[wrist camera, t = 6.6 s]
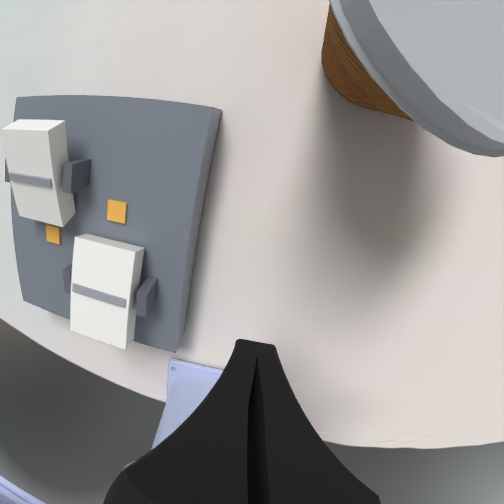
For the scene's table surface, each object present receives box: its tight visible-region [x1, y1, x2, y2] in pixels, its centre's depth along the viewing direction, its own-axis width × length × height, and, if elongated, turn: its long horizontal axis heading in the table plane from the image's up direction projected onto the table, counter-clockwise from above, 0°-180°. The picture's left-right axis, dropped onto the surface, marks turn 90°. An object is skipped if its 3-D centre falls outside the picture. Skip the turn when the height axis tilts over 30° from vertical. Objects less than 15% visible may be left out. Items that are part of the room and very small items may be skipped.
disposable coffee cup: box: [322, 0, 504, 157], centre depth 9 cm, size 10×10×12 cm
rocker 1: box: [1, 119, 76, 227], centre depth 14 cm, size 6×4×2 cm, turn 168°
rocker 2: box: [70, 234, 144, 349], centre depth 16 cm, size 6×4×2 cm, turn 168°
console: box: [5, 95, 222, 353], centre depth 17 cm, size 16×14×5 cm
